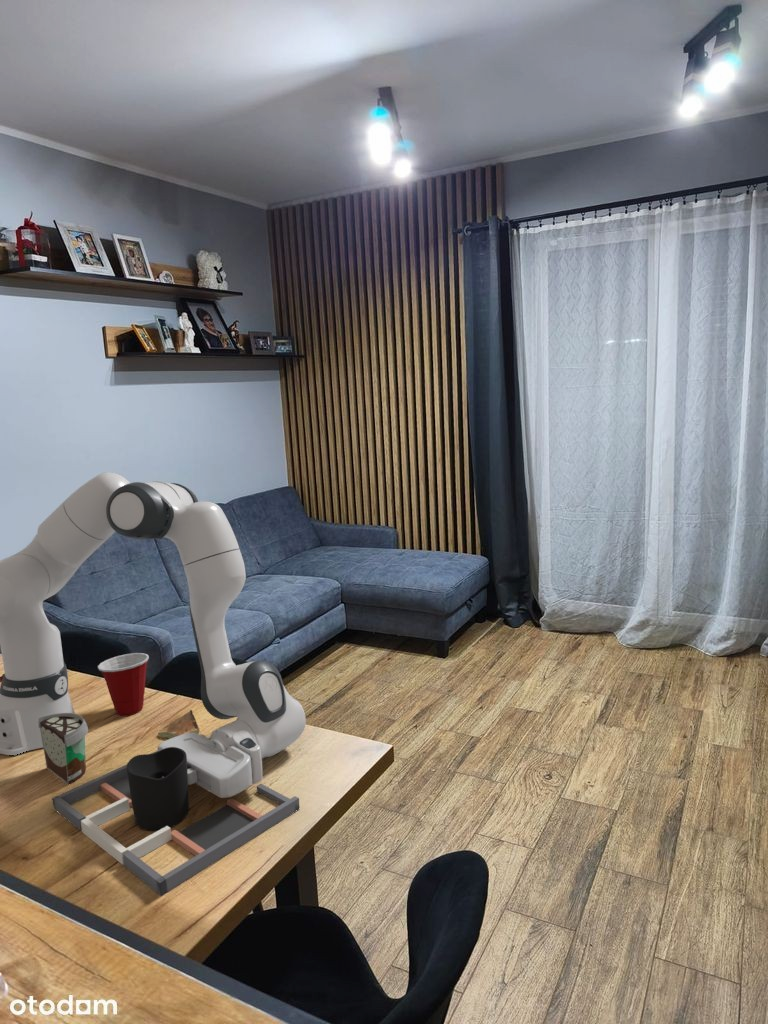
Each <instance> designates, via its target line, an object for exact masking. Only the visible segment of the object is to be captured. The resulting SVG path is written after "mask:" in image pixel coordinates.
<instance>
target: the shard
mask: <svg viewBox="0 0 768 1024" xmlns="http://www.w3.org/2000/svg"><path fill="white" fill-rule="evenodd" d="M200 731H201V730H200V728H199V725H198V722H197V720H196V717H195V715H194V713H193V710H192V709H190V710H189V711H188V712H186V713H184V714H183V715H181V716H180V717H177V718H176V719H174V720H173V721H171V722H169V723H168V724H167V725H165V726H163V727H162V729H160V730H158V737H160V738H166V739H171V738H174V737H176V736H179V735H182V734H186V733H197V734H200Z"/></svg>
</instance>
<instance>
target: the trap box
mask: <svg viewBox="0 0 768 1024" xmlns="http://www.w3.org/2000/svg"><path fill="white" fill-rule="evenodd" d="M156 752H158V750H155V751H154V752H151V753H150V754H153V753H156ZM100 791H102V792H103V793H104V794H106V795H107V796H109V797H110V798H112V799H113V800H114V801H115V802H116V801H119V800H121V799H123V798H125V797H126V798H127V799H128V801H129V809H131V808H133V807H132V800H131V794H130V787H129V781H128V774H127V764H124V765H122V766H120V767H118V768H116V769H114V770H111V771H109V772H107V773H105V774H103V775H101V776H97V777H96V778H94V779H91V780H89V781H87V782H85V783H82V784H80V785H77V786H76V787H73V788H72V789H70V790H67V791H64V792H62V793H61V794H58V795H55V796H54V797H52V798H51V801H52V807H53V808H54V809H55V810H54V809H53V810H54V811H55V812H57V811H58V812H59V813H60V814H61V816H62V815H63V816H64V817H65V818H66V819H65V818H64V817H63V816H62V817H63V818H64V819H65V820H67V821H68V820H69V821H70V822H71V823H70V822H69V821H68V822H69V823H70V824H72V825H73V826H74V825H75V826H76V827H75V826H74V827H75V828H77V829H78V830H79V831H80V830H81V831H82V827H81V820H83V819H85V817H86V815H84V814H83V813H81V812H80V811H79V810H78V809H76V808H75V807H74V806H72V804H74V803H76V802H78V801H81V800H83V799H84V798H86V797H89V796H91V795H94V794H95V793H97V792H100ZM256 792H257V793H259V794H261V795H263V796H265V797H266V798H268V799H270V800H271V801H274V802H276V803H278V804H279V805H278V806H276V807H275V808H272V809H271V810H270V811H267V812H266V813H264V814H263V815H262V814H260V813H258V811H255V810H253V809H252V808H249V807H248V806H246V805H244V804H243V803H241V802H239V801H238V800H235V799H234V798H232V797H230V798H229V799H227V800H226V804H225V805H224V806H222V807H220V808H218V809H217V810H215V811H214V812H211V813H210V814H208V815H206V816H204V817H202V818H201V819H199V820H196V821H195V822H194V823H192V824H190V825H187V826H186V827H185V828H183V829H181V830H179V831H178V830H176V829H173V830H171V836H172V840H171V841H173V842H175V843H176V844H178V845H179V846H180V847H181V848H183V849H185V850H186V851H187V852H189V853H190V854H192V855H193V857H191V858H190V859H188V860H187V861H184V862H183V863H182V864H180V865H178V866H177V867H175V868H173V869H171V870H170V871H168V872H166V873H165V874H164V875H161V873H159V872H157V871H156V870H155V869H154V868H152V867H151V866H150V865H149V864H147V863H146V862H145V861H143V860H142V859H141V858H138V857H137V856H136V855H134V854H133V853H132V852H130V851H128V852H126V853H125V854H123V856H124V865H123V866H124V868H126V869H127V870H128V871H129V872H130V873H133V875H134V876H136V878H138V879H139V880H141V881H142V882H143V883H144V884H145V885H147V886H148V887H150V888H151V889H152V890H153V891H154V892H156V893H157V895H159V896H163V895H165V894H167V893H169V892H170V891H171V890H173V889H174V888H176V887H178V886H179V885H180V884H182V883H185V881H187V880H189V879H190V878H192V877H194V876H195V875H197V874H198V873H200V872H202V871H203V870H204V869H207V868H208V867H210V866H211V865H213V864H214V863H216V862H217V861H219V860H221V859H222V858H224V857H226V856H227V855H229V854H231V853H232V852H234V851H235V850H236V849H238V848H240V847H242V846H243V845H245V844H246V843H248V842H249V841H251V840H253V839H255V838H256V837H258V836H259V835H261V834H262V833H264V832H265V831H267V830H269V829H271V828H272V827H274V826H275V825H277V824H279V822H281V821H283V820H285V819H286V818H288V817H289V816H291V815H293V814H294V813H296V812H297V811H299V810H300V809H299V808H301V807H300V797H298V796H295V795H294V796H292V797H291V798H289V797H288V796H285V795H284V794H282V793H280V792H278V791H275V790H274V789H272V788H270V787H268V786H266V785H264V784H263V783H260V784H258V785H256ZM298 809H299V810H298ZM296 810H297V811H296ZM295 811H296V812H295ZM58 812H57V813H58ZM293 812H294V813H293ZM59 813H58V814H59ZM292 813H293V814H292ZM60 814H59V815H60Z"/></svg>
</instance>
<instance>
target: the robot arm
mask: <svg viewBox="0 0 768 1024" xmlns="http://www.w3.org/2000/svg"><path fill="white" fill-rule="evenodd" d="M115 533H117V534H118V535H121V536H122V537H124V538H125V537H126V538H129V539H132V540H161V539H164V538H166V539H168V540H170V541H171V542H172V543H174V545H175V546H176V549H177V551H178V553H179V557H180V561H181V563H182V566H183V570H184V574H185V577H186V581H187V587H188V593H189V616H190V622H191V628H192V633H193V637H194V642H195V647H196V651H197V655H198V656H197V657H198V661H199V665H200V672H201V673H200V675H201V676H200V677H201V679H200V698H201V702H202V705H203V707H204V709H205V710H206V711H207V712H208V713H209V715H211V717H213V718H216V719H218V720H230V719H233V718H236V719H235V720H233V721H231V722H229V723H227V724H224V725H223V726H221V727H217V728H216V729H214V730H213V731H212V732H211V734H210V736H209V737H208V736H206V735H205V734H200V733H198V734H197V733H186V734H182V735H179V736H176V737H174V738H167V739H166V740H163V741H162V742H160V743H159V744H158V746H157V748H156V749H157V750H156V751H160V750H162V749H165V748H168V747H177V748H180V749H182V750H184V751H185V753H186V755H187V774H188V786H190V785H193V784H195V785H197V786H198V787H199V786H200V787H201V788H203V789H204V790H206V791H208V792H210V793H212V794H214V795H215V796H217V797H218V798H221V799H226V798H232V797H233V796H236V795H238V794H240V793H241V792H243V791H245V790H247V789H248V788H250V786H252V785H256V784H258V783H260V782H262V781H263V759H264V758H269V757H273V756H274V755H276V754H278V753H280V752H282V751H283V750H285V749H287V748H288V747H289V746H291V745H293V743H295V742H296V741H297V740H298V739H299V738H300V737H301V736H302V735H303V733H304V731H305V728H306V723H307V719H306V718H307V717H306V714H305V710H304V708H303V705H302V704H301V703H300V701H299V700H297V699H295V698H294V697H293V696H292V695H290V693H289V692H288V690H287V689H286V687H285V685H284V683H283V679H282V675H281V673H280V672H279V669H278V668H277V667H276V666H275V665H274V664H273V663H271V662H270V661H267V660H260V659H259V660H254V661H249V662H245V663H242V664H241V663H240V664H237V665H236V663H235V662H234V661H233V659H232V656H231V655H232V654H231V650H230V646H229V640H228V636H227V631H226V627H225V619H226V614H227V612H228V610H229V608H230V606H231V605H232V604H233V602H234V601H235V600H236V599H237V598H238V596H240V594H241V592H242V591H243V588H244V586H245V583H246V581H247V578H246V577H247V574H246V566H245V562H244V558H243V555H242V552H241V549H240V546H239V543H238V540H237V538H236V535H235V533H234V531H233V528H232V526H231V524H230V522H229V520H228V518H227V516H226V514H225V512H224V511H223V509H222V508H221V506H220V505H218V504H216V503H214V502H211V501H199V500H198V498H197V495H196V494H195V493H194V492H193V491H192V490H191V489H190V488H188V487H187V486H184V485H182V484H179V483H175V482H166V481H157V480H156V481H147V482H146V481H144V482H139V481H137V482H135V481H134V482H130V481H129V480H128V479H127V478H125V477H124V476H123V475H120V474H118V473H116V472H113V471H112V472H109V471H107V472H101V473H99V474H97V475H96V476H95V477H93V478H90V480H88V481H86V482H85V483H83V485H81V486H80V487H78V488H77V489H76V490H74V492H72V493H71V494H70V495H69V496H68V497H67V498H66V499H65V500H64V501H63V502H62V503H61V504H60V505H59V506H58V507H56V508H55V510H54V511H52V512H51V514H49V515H48V517H46V518H45V519H44V520H43V521H42V522H41V523H40V524H39V526H38V527H37V532H36V535H35V536H34V537H33V538H32V540H31V542H29V543H28V545H26V546H25V547H24V548H23V549H21V550H20V551H18V552H17V553H15V554H13V555H10V556H9V557H6V558H4V559H1V560H0V651H1V657H2V663H3V671H4V673H2V674H1V676H0V683H1V684H0V754H2V755H6V756H9V755H14V756H18V755H21V754H23V752H24V753H26V751H27V752H29V751H32V750H37V749H42V748H43V743H42V737H41V731H40V728H39V726H38V721H39V719H38V718H40V717H44V716H47V715H52V714H58V713H74V714H76V712H75V710H74V707H73V704H72V700H71V696H70V692H69V689H68V688H69V676H68V668H67V664H66V663H65V661H64V655H63V647H62V639H61V632H60V631H61V630H59V628H58V627H57V626H56V625H55V624H53V623H50V620H49V619H48V618H47V615H46V614H45V613H46V612H45V610H44V607H43V603H44V601H45V600H47V599H49V598H51V597H53V596H55V595H56V594H57V593H59V592H60V591H61V590H62V589H63V588H64V587H65V586H66V585H67V583H68V582H69V581H70V580H71V579H72V578H73V576H74V575H75V574H76V572H77V571H78V569H79V568H80V567H81V566H82V565H83V563H84V562H86V560H87V559H88V558H90V556H92V555H93V554H94V552H96V551H97V550H98V549H99V548H100V547H101V546H102V545H103V544H104V543H106V541H107V540H109V538H110V537H112V536H113V535H114V534H115ZM20 753H21V754H20ZM17 754H18V755H17ZM164 777H165V776H162V777H161V778H164Z"/></svg>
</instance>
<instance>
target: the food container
mask: <svg viewBox="0 0 768 1024" xmlns="http://www.w3.org/2000/svg"><path fill="white" fill-rule="evenodd" d="M38 719H39V721H38V726H39V728H40V731H41V737H42V743H43V755H44V759H45V766H46V769H47V768H48V769H49V770H48V769H47V770H48V771H49V772H51V771H52V772H53V773H54V774H53V775H55V776H56V775H57V776H58V778H59V779H60V780H61V781H62V780H63V781H62V782H64V783H65V784H66V785H67V786H70V785H72V784H73V783H76V782H77V781H79V780H80V779H81V778H82V777H83V776H84V775H85V773H86V771H87V764H86V763H87V761H86V735H87V734H89V733H88V732H89V727H88V724H87V722H86V720H85V719H84V717H83V716H82V715H80V714H78V713H75V714H74V713H58V714H52V715H47V716H44V717H40V718H38ZM52 772H51V773H52ZM57 776H56V777H57ZM69 784H70V785H69Z"/></svg>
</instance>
